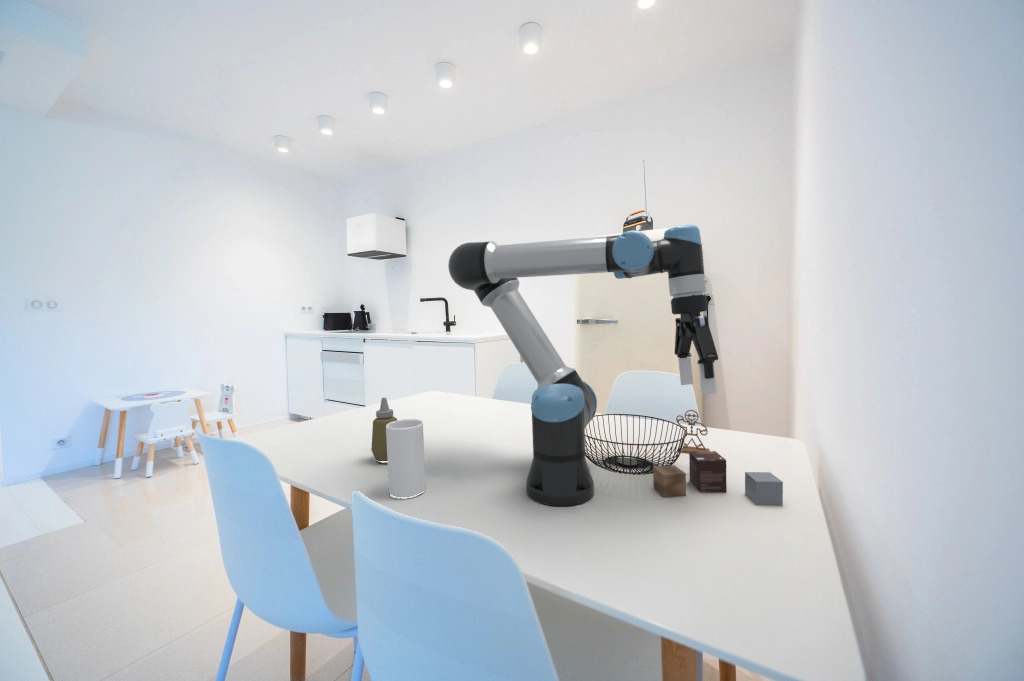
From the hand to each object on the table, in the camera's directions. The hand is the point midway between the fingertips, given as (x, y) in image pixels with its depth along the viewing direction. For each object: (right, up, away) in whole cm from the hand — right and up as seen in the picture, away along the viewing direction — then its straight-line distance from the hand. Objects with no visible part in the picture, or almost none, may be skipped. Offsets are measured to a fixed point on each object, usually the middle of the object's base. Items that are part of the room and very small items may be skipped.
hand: (697, 388), depth 92 cm
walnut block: (-7, -23, -3) cm, 24 cm away
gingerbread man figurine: (+9, -21, +22) cm, 32 cm away
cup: (-66, -24, +2) cm, 71 cm away
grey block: (+10, -22, -8) cm, 26 cm away
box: (+2, -22, -1) cm, 22 cm away
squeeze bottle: (-78, -23, +23) cm, 84 cm away
